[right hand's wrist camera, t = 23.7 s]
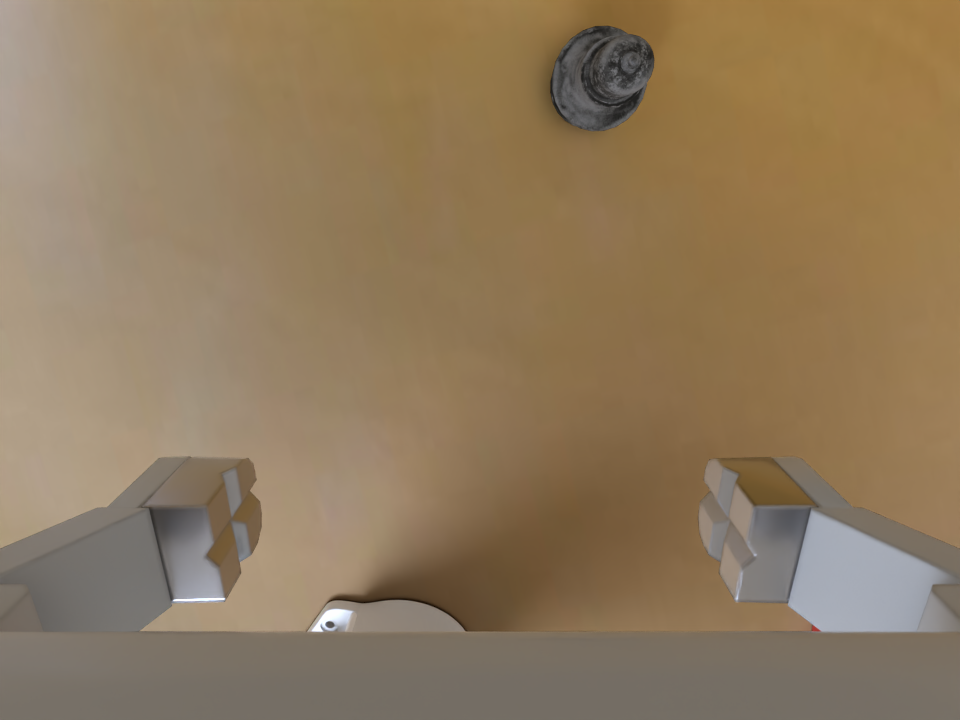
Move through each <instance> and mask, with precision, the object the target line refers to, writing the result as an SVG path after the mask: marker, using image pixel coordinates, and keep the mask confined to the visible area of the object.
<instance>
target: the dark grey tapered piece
mask: <svg viewBox="0 0 960 720" xmlns="http://www.w3.org/2000/svg"><path fill="white" fill-rule="evenodd" d="M653 68H654V55H653V51H652V49H651V47H650V45H649V44H648V43H647V42H646V40H644V39H643V38H641V37H639V36H636V35H632V34H627V33H626V32H624V31H623V30H621V29H618V28H614V27H611V26H595V27H592V28H589V29H586V30H583V31H582V32H580V33H579V34H577V35H576V36H574V37H573V38H571V40H570V41H569V42H568V43H567V44H566V45H565V46H564V48H563V49H562V51H561V52H560V54H559V56H558V58H557V60H556V63H555V67H554V70H553V74H552V78H551V92H550V93H551V97H552V101H553V105H554V106H555V108H556V110H557V112H558V114H559V115H560V116H561V117H562V118H563V119H564V120H565V121H567V122H568V123H570V124H572V125H573V126H577V127H579V128H581V129H585V130H589V131H604V130H608V129H611V128H614V127H616V126H618V125H620V124H621V123H623V122H624V121H626V120H627V119H628V118H629V117H630V116H631V115H632V114H633V113H634V112H635V111H636V109H637V107H638V106H639V104H640V102H641V101H642V99H643V96H644V92H645V89H646V86H647V82H648V80H649V78H650V77H651V75H652V71H653Z"/></svg>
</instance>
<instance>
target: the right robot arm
mask: <svg viewBox="0 0 960 720" xmlns="http://www.w3.org/2000/svg"><path fill="white" fill-rule="evenodd" d="M255 482H256V475H255V470H254V464H253V463H252V462H251V461H250V459H249V458H219V457H190V456H188V457H163V458H159V459H157V460H156V461H155V462H154V463H153V464H152V465H151V466H150V467H149V468H148V469H147V470H146V471H145V472H144V473H143V474H142V475H141V476H140V477H138V478H137V479H136V480H135V481H134V482H133V483H132V484H131V485H130V486H129V487H128V488H127V489H126V490H125V491H124V492H123V493H122V494H121V495H120V496H118V497H117V498H116V499H115V500H114V501H113V502H112V503H111V504H110V505H109V506H108V507H107V508H95V509H93V510H91V511H88V512H86V513H83V514H81V515H79V516H76V517H74V518H72V519H69V520H67V521H65V522H62V523H60V524H57V525H55V526H53V527H50V528H48V529H46V530H43V531H41V532H39V533H36V534H34V535H31V536H29V537H27V538H24V539H22V540H20V541H17V542H15V543H12V544H10V545H8V546H5V547H3V548H1V549H0V720H960V549H959V548H957V547H954V546H952V545H950V544H947V543H945V542H943V541H940V540H938V539H935V538H933V537H931V536H928V535H926V534H924V533H921V532H919V531H917V530H914V529H912V528H910V527H907V526H905V525H902V524H900V523H898V522H895V521H893V520H891V519H888V518H886V517H884V516H881V515H879V514H876V513H874V512H872V511H869V510H867V509H865V508H853V507H852V506H851V505H850V504H849V503H848V502H847V501H846V500H845V499H844V498H843V497H842V496H841V495H840V494H838V493H837V492H836V491H835V490H834V489H833V488H832V487H831V486H830V485H829V484H828V483H827V482H826V481H825V480H824V479H823V478H822V477H821V476H820V475H818V474H817V473H816V472H815V471H814V470H813V469H812V468H811V467H810V466H809V465H808V464H807V463H806V462H805V461H804V460H803V459H801V458H798V457H795V456H790V457H755V458H716V459H709V461H708V463H707V466H706V468H705V474H704V482H705V483H706V485H707V486H708V488H709V489H710V492H709V493H708V494H707V495H706V496H705V497H704V498H703V499H702V500H701V501H700V506H699V514H698V523H699V533H700V537H701V540H702V543H703V545H704V547H705V549H706V551H707V553H708V555H710V556H711V557H713V558H714V559H716V560H718V561H719V562H720V568H719V574H720V576H721V578H722V580H723V581H724V583H725V585H726V587H727V588H728V590H729V592H730V593H731V595H732V597H733V599H734V600H735V602H760V603H788V606H789V607H790V608H792V609H793V610H794V611H796V612H797V613H798V614H799V615H801V616H802V617H803V618H805V619H806V620H807V621H809V622H810V623H811V624H813V625H814V626H815V627H817V628H818V629H819V630H820V631H575V632H470V631H469V632H468V631H465V630H464V629H463V627H462V626H461V625H460V624H459V623H458V622H457V621H456V620H455V619H453V618H452V617H451V616H449V615H448V614H446V613H445V612H443V611H441V610H439V609H437V608H435V607H432V606H430V605H427V604H424V603H420V602H415V601H408V600H385V601H379V602H373V603H356V602H350V601H341V600H335V601H331V602H329V603H328V604H327V605H326V606H325V607H324V608H323V610H322V611H321V613H320V614H319V615H318V617H317V618H316V619H315V621H314V622H313V624H312V625H311V626H310V628H309V629H308V631H140V630H141V629H142V628H144V627H145V626H146V625H148V624H149V623H150V622H152V621H153V620H154V619H155V618H157V617H158V616H159V615H161V614H162V613H163V612H165V611H166V610H167V609H169V608H170V607H171V606H172V603H199V602H225V601H226V599H227V597H228V595H229V594H230V592H231V590H232V588H233V587H234V585H235V583H236V581H237V580H238V578H239V576H240V574H241V568H240V562H241V561H242V560H244V559H246V558H247V557H249V556H250V555H252V553H253V551H254V549H255V547H256V545H257V543H258V540H259V536H260V531H261V527H262V512H261V505H260V501H259V500H258V499H257V498H256V497H255V496H254V495H253V494H252V493H251V492H250V489H251V488H252V486H253V485H254V483H255ZM330 621H332V622H330Z"/></svg>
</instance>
